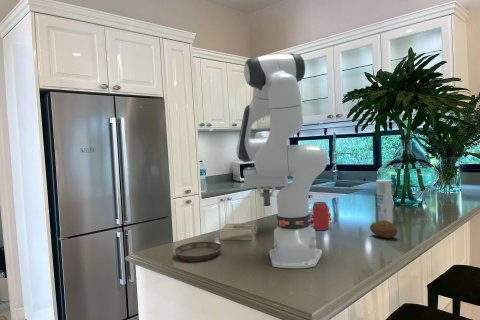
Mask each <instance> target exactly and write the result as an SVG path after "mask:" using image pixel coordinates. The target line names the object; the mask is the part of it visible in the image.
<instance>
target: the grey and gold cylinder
mask: <svg viewBox="0 0 480 320" xmlns="http://www.w3.org/2000/svg"><path fill="white" fill-rule="evenodd" d="M270 192H271V191H270V187H262V193H263V196H264V197H263V206H264V207H270V206H271V197H270V194H269V193H270Z"/></svg>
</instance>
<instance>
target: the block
mask: <svg viewBox="0 0 480 320" xmlns="http://www.w3.org/2000/svg"><path fill="white" fill-rule="evenodd" d="M257 232H258V226H257V223H256V222H246V223H245V222H244V223H241V222H240V223H234V222H233V223H226V224H225V225H224V226H223V227H222V228H221V229H220V230H219V233H218V234H219V241H252V240H253V239H254V238H255V236H256V234H257Z"/></svg>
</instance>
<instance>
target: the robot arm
mask: <svg viewBox="0 0 480 320" xmlns="http://www.w3.org/2000/svg"><path fill="white" fill-rule="evenodd" d="M243 68H244V69H243V76H244V80H245V81H246V83H247V85H249V86H250V87H251V88H252V89H253V90H252V98H251V102H249V104H247V106H245V107H244V111H243V115H242V121H241V126H240V130H239V131H240V133H239V137H238V138H239V139H238V140H237V144H236V157H237V158H238V159H239V160H240V161H242V162H243V163H249V162H253V163H254V164H253V165H254V166H253V167H246V168H244V169H243V172H242V174H243V178H244V179H243V186H244V188H248V189H249V188H256V189H257V191H258V192H259V197H260V198H264V196H263V191H262V190H261V189H262V188H263V187H269V188H270V187H271V191H270V193H269V194H270V198H271V197H274V191H275V189H276V187H282V188H281V189H280V190H279V191H278V192H277V194H276V211H277V215H276V225H277V226H276V228H275V229H274V230H273V238H274V239H273V240H274V243H273V244H272V247H273V249H270V250H269V259H270V263H271V265H272V267H274V268H279V269H307V268H308V269H309V268H314V267H316V266H317V264H318V262H319V260H320V258H321V257H322V255H323V250H322V249H319V248H317V247H318V243H317V235H316V230H315V229H314V227H313V226H310V224H311V218H310V214H309V208H308V206H309V194H310V189H311V187H312V185H313V183H314V181H315V180H316V179H317V177H318V176H320V174H321V173H323V172H324V171H325V169H326V167H327V165H328V155H327V152H326V151H325V149H324V148H323V147H322V146H321V145H317V144H316V145H315V144H311V143H310V144H308V143H307V144H306V143H305V144H288V143H287V142H288V139H289V138H291V137H293V136H295V135H296V134H298V133H299V132H300V131H301V130H302V128H303V126H304V123H303V122H304V119H303V110H302V109H303V105H302V97H301V92H300V91H301V90H300V87H299V82H301V81H302V80H303V79H304V77H305V74H306V63H305V60H304V58H303V56H302V55H300V54H298V53H288V54H287V53H285V54H284V53H280V54H279V53H278V54H274V53H272V54H266V55H260V56H253V57H250V58H249V59H246V61H245V63H244V67H243ZM267 117H269V121H270V123H269V127H270V128H269V129H270V130H269V131H268V130H261V131H258V132H256V133H254V138H250V136H251V130H252V126H253V125H254V124H255V123H256V122H258V121H260V120H262V119H264V118H267ZM288 177H292V181H291V183H289V180H288Z"/></svg>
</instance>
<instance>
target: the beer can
mask: <svg viewBox="0 0 480 320" xmlns="http://www.w3.org/2000/svg"><path fill="white" fill-rule="evenodd" d="M327 206H328V204H327V202H326V201H315V202H313V205H312V208H313V222H314V226H313V229H314V230H315V231H327V230H328V229H329V228H330V227H329V225H330V224H329V223H328V207H329V206H328V207H327Z"/></svg>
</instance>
